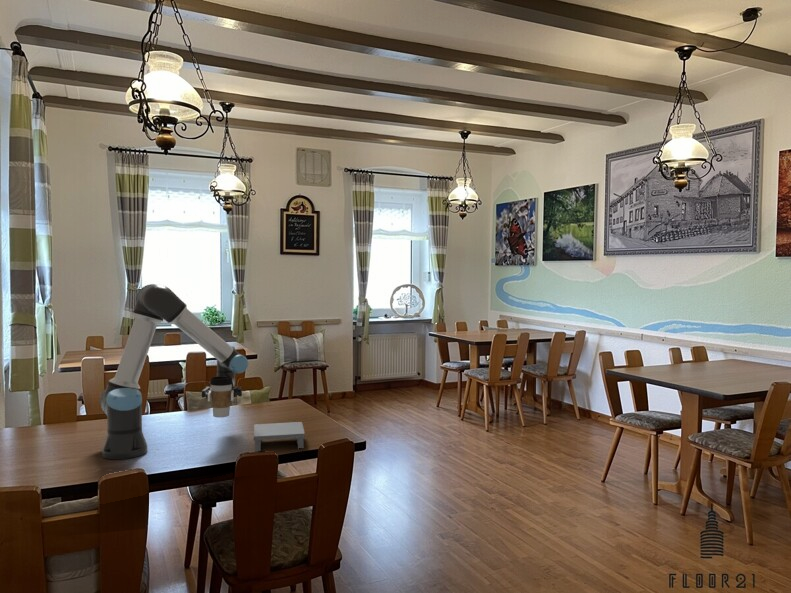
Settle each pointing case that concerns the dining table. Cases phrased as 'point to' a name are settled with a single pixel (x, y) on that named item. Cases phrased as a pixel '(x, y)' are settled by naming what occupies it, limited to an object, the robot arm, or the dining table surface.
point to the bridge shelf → (278, 433)
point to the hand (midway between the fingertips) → (220, 397)
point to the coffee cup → (221, 395)
